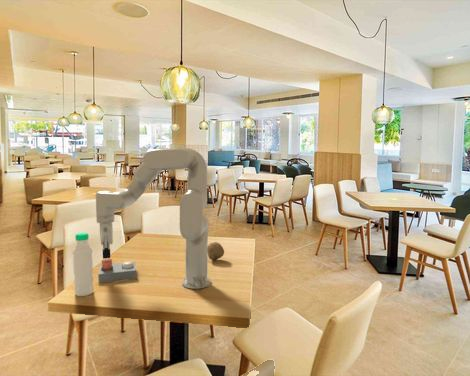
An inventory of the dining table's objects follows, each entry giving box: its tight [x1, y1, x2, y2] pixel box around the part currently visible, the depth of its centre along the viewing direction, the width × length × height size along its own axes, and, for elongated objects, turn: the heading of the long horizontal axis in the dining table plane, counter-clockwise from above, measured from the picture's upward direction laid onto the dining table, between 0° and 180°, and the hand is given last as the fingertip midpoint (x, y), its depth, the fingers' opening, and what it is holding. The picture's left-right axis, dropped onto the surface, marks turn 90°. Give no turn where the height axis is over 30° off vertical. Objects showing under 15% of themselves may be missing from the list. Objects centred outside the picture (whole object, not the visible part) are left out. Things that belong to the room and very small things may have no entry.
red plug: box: [101, 258, 113, 271], centre depth 153 cm, size 4×4×4 cm
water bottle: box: [72, 232, 94, 297], centre depth 135 cm, size 7×7×25 cm
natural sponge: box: [207, 241, 225, 262], centre depth 177 cm, size 9×9×10 cm
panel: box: [97, 261, 137, 284], centre depth 155 cm, size 12×16×4 cm
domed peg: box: [122, 261, 133, 269], centre depth 156 cm, size 4×4×4 cm
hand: (106, 257), depth 152 cm, fingers closed
